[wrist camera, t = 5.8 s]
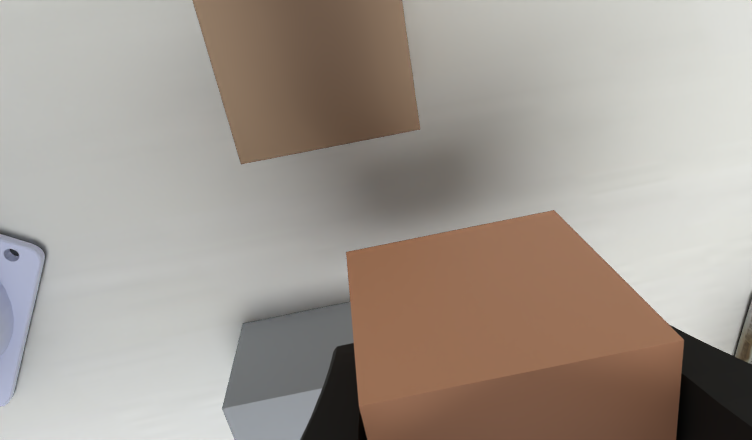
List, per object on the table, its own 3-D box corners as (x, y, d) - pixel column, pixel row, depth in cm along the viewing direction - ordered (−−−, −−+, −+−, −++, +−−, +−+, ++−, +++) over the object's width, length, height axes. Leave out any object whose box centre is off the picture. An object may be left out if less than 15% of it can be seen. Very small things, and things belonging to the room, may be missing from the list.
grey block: (273, 410, 25) (262, 507, 20) (243, 322, 23) (221, 408, 18) (379, 388, 25) (392, 480, 20) (358, 298, 23) (367, 379, 18)
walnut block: (260, 120, 19) (240, 164, 15) (219, -32, 17) (181, -36, 13) (397, 94, 19) (420, 129, 15) (373, -61, 17) (391, -76, 13)
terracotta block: (382, 409, 15) (408, 602, 10) (346, 251, 13) (358, 406, 8) (560, 373, 15) (666, 550, 10) (554, 210, 13) (683, 340, 8)
